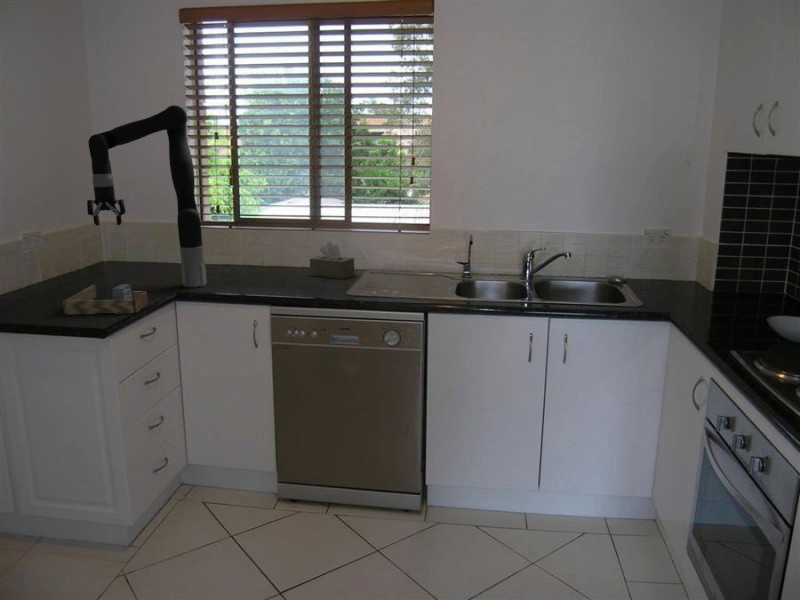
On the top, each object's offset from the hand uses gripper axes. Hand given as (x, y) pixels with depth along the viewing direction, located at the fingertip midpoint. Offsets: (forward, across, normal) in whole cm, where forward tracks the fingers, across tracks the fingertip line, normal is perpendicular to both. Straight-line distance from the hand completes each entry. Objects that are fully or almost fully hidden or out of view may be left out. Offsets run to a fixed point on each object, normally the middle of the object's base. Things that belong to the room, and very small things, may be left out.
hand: (108, 225), depth 269 cm
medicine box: (+28, -13, +28) cm, 42 cm away
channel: (+28, -6, +22) cm, 36 cm away
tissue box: (+28, -89, -26) cm, 97 cm away
